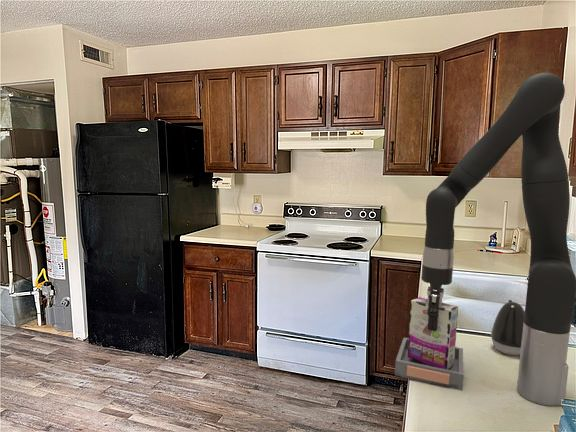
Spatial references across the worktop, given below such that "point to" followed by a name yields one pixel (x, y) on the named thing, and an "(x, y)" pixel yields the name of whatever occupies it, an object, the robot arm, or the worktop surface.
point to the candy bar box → (432, 335)
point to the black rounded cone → (508, 328)
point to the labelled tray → (429, 369)
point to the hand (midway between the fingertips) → (433, 325)
